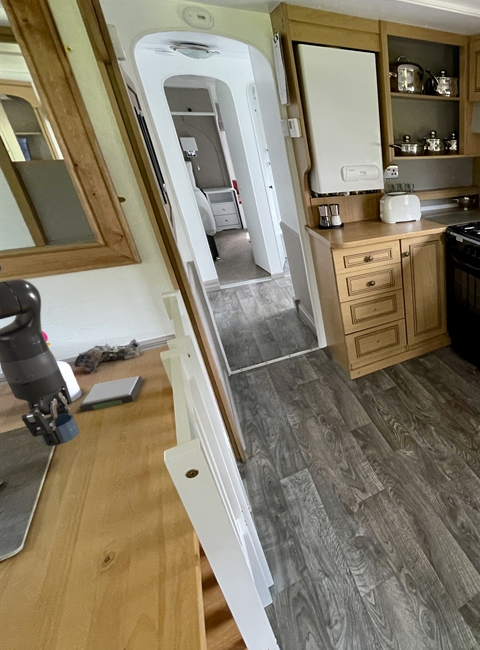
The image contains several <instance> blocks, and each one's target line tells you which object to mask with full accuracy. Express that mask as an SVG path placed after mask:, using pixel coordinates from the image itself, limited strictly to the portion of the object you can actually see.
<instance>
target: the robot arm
mask: <svg viewBox="0 0 480 650" xmlns="http://www.w3.org/2000/svg"><path fill="white" fill-rule="evenodd" d="M2 268H3V267H2V264H0V273H1V272H2V270H3V269H2ZM41 315H42V297H41V294H40V291H39V289H38V288H37V287H36V286H35V285H34V284H33V283H32V282H31V281H28V280H25V279H22V278H14V279H8V280H3V281H0V320H4V319H7V318H11V317H15V318H14V320H12V322H10V323H9V324H7V325H5V326H3V327H1V328H0V368H1V371H2V374H3V376H4V379H5V380H6V382H7V384H8V386H9V388H10V390H11V393H12V394H13V396H14V398H15V399H17V400H22V401H25V402H27V404H28V409H29V412H28V413H26V414H22V415H21V420H22V422H23V423H24V425H25V426H26V428H27V429H28V431H29V432H30V434H31V435H32V437H35V438H36V437H38V436H41V435H43V437H44V439H45V441H46V443H47V445H46V446H48V447H52V446H51V445H56V444H60V443H61V441H62V439H61V437H60V434H59V432H58V430H57V428H56V424H55V419H57V417H58V416H57V415H60V414H71V413H70V410H71V409H70V405H72V404H73V402H72V400H71V397H70V394H69V391H68V388H67V385H66V382H65V381H64V378H63V376H62V374H61V371H60V369H59V366H58V364H57V362H56V361H57V359H56V357H55V355H54V354H53V352H52V351H51V349H50V346H49V347H48V345H47V343H48V342H46V340H45V338H44V335H43V333H42V331H43V330H42V329H43V328H42V320H41V319H42V317H41ZM63 396H64V397H65V398H64V397H63ZM45 416H46V417H45ZM46 421H49V425H50V426H49V425H48V423H47V422H46ZM60 445H61V444H60ZM56 446H57V445H56Z"/></svg>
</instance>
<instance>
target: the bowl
mask: <svg viewBox="0 0 480 650" xmlns="http://www.w3.org/2000/svg"><path fill="white" fill-rule="evenodd" d="M57 416H58V417H57V419H55V424H56V428H57V430H58V432H59V434H60V437H61V439H62V441H61V443H60V444H56V445H51V446H50V447H55V446H60V445H63V444H66V443H68V442H70V441H72V440H74V439H75V438H76V437H78V435H79V434H80V428H79V426H78V424H77V421H76V419H75V416H74V415H73V413H70V414H60V415H57ZM46 422H47V423H48V425H49V421H46ZM49 426H50V425H49ZM40 437H41V440H42V442H43V443H44V445H46V446H48V445H47V443H46V441H45V439H44V437H43V435H40Z"/></svg>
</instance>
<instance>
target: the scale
mask: <svg viewBox="0 0 480 650" xmlns="http://www.w3.org/2000/svg"><path fill="white" fill-rule="evenodd" d="M143 381H144V380H143V377H142V376H137V375H136V376H131V377H125V378H119V379H115V380H109V381H104V382H99V383H95V384H94V385H92V388H91V389H90V390H89V392H88V394H87V395H86V397H85V398H84V399H83V400H82V403H81V404H80V406H79V408H80V410H81V412H87V411H91V410H98V409H99V410H100V409H103V408H108V407H109V408H110V407H113V406H118V405H123V404H126V403H131V402H133V401H135V399H136V396H137V394H138V392H139V390H140V388H141V386H142V384H143Z"/></svg>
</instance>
